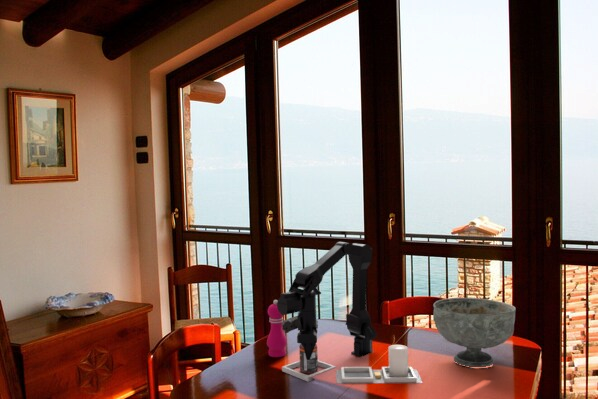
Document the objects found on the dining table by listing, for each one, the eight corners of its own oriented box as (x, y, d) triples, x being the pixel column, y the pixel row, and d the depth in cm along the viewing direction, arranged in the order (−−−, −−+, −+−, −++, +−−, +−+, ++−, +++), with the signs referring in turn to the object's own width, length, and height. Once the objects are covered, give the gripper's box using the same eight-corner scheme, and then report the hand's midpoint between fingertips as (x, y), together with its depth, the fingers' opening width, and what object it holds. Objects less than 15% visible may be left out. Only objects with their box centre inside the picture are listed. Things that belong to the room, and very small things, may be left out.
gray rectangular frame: (416, 373, 173) (416, 365, 172) (422, 386, 162) (422, 379, 161) (336, 373, 174) (335, 366, 174) (336, 387, 163) (336, 379, 163)
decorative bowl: (427, 369, 174) (429, 308, 173) (435, 346, 198) (437, 292, 197) (515, 381, 165) (517, 317, 164) (512, 356, 189) (514, 300, 188)
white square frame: (309, 361, 186) (309, 357, 185) (335, 370, 176) (335, 366, 176) (282, 371, 177) (281, 366, 177) (307, 381, 168) (307, 376, 168)
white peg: (396, 371, 172) (396, 343, 171) (412, 375, 167) (411, 347, 167) (385, 376, 168) (384, 347, 167) (400, 381, 163) (400, 352, 163)
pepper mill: (284, 358, 189) (283, 302, 188) (264, 357, 191) (263, 302, 190) (289, 351, 196) (287, 297, 195) (270, 350, 198) (268, 297, 197)
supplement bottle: (299, 368, 179) (298, 335, 179) (316, 367, 180) (316, 334, 179) (300, 375, 173) (299, 340, 173) (318, 373, 174) (318, 339, 173)
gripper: (285, 302, 185) (286, 347, 186) (280, 317, 167) (281, 366, 167) (317, 302, 185) (318, 346, 186) (316, 317, 166) (317, 366, 167)
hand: (308, 356), depth 176 cm, fingers open, 6 cm apart
